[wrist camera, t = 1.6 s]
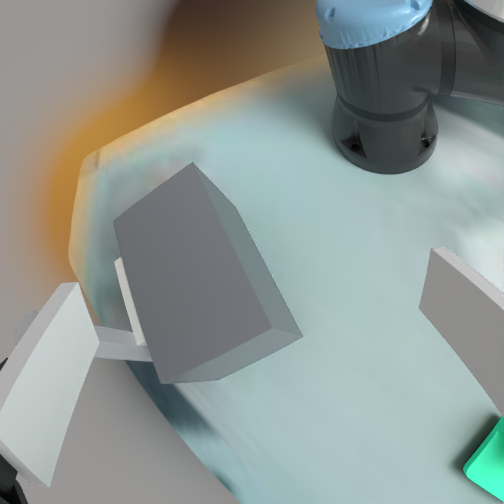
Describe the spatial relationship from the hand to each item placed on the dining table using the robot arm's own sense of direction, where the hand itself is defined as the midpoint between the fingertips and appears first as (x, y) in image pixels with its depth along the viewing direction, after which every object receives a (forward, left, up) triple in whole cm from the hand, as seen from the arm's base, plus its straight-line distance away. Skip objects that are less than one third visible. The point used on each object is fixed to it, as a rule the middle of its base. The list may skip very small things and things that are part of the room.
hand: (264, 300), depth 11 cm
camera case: (-6, -15, -27) cm, 31 cm away
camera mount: (+17, +23, -27) cm, 39 cm away
